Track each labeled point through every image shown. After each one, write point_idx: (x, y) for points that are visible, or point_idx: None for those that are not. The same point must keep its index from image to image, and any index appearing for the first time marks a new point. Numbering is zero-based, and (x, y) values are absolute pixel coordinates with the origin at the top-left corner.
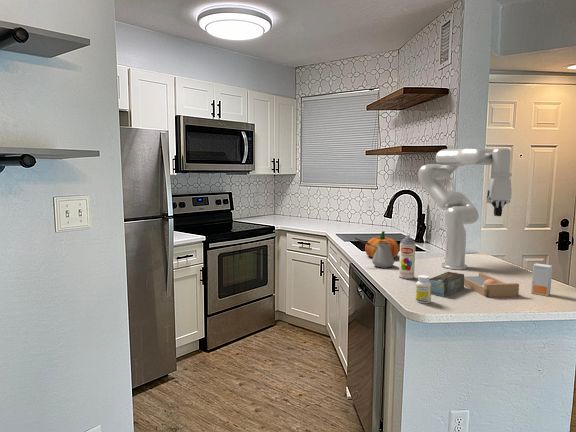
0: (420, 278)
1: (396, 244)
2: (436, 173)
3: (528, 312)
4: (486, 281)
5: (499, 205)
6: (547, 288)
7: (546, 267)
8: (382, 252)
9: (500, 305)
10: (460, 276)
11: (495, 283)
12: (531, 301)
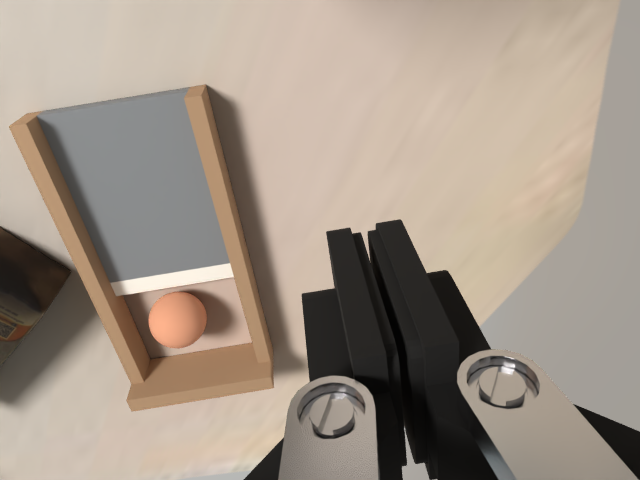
0: None
1: None
2: None
3: (231, 471)
4: (154, 337)
5: (461, 466)
6: None
7: (404, 429)
8: None
9: (168, 435)
10: (22, 340)
11: (193, 342)
12: (292, 392)
